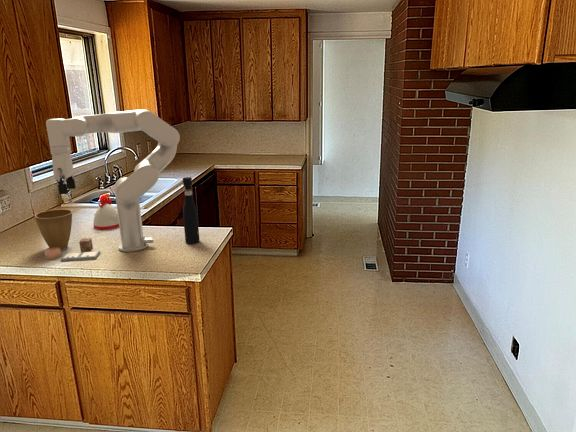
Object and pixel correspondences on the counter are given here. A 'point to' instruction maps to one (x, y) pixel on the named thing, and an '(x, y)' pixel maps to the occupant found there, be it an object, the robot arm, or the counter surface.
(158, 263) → the counter surface
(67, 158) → the robot arm
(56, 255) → the tan round lump
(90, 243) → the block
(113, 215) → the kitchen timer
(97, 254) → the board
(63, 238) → the plant pot
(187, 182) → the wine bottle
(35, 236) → the counter surface
